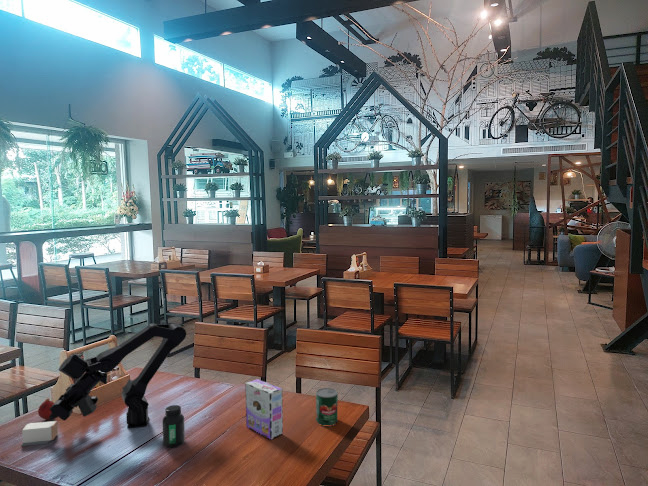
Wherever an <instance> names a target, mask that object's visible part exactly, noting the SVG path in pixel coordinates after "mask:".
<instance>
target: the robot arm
mask: <svg viewBox="0 0 648 486" xmlns="http://www.w3.org/2000/svg"><path fill="white" fill-rule="evenodd" d="M154 337H156V338H157V337H159V338H162V339H161V343H160V345H159V346H158V348H157V349H156V350H155V351H154V353H153V354H152V356H151V357H150V359H149V360H148V362H147V363H146V364H145V366H144V367H143V369H142V370H141V371H140V373H139V375H137V377H136V378H134V379H133V380H132V379H130V378H129V379H128V380H127V382H126V384H125V385H124V386H123V387H122V388H121V389H122V391H121V398H122V401H123V402H124V404H125V406H126V407H127V411H126V415H125V416H126V424H127V426H126V427H127V429H131V428H141V427H142V428H143V427H146V426H148V423H149V421H150V416H149V401H147V399H146V397H145V394H146V391H147V387H148V385H149V383H151V380H152V379H153V378H154V376H155V374H156V373H157V372H158V370H159V369H160V368H161V366H162V364H163V363H164V362H165V361H166V359H167V357H168V356H169V355H170V353H171V352H172V351H173V350H174V349H175V348H177V347H178V346H179V345H180V344H182V343H183V341H184V340H185V339H186V338H187V330H186V329H185V328H184V327H183V326H182V325H181V324H179V323H177V322H176V323H175V322H174V323H171V324H165V323H164V324H163V323H149V324H148V325H147V326H146V327H144V328H143V329H142V330H140V331H138V332H136V334H134V335H132V336H130V337H129V338H128V339H127V340H125V341H124V342H122V343H120V344H119V345H117V346H114V347H111V348H108V349H106V350H104V351H102V352H100V353H98V355H96V356H94V357H90V358H88V359H83V358H82V357H80V356H79V355H78V354H77V353H75V352H74V353H72V355H70V356H69V357H68V358H66V359H64V360H63V362H62V363H61V364H60V366H59V368H58V372H61V373H63V374H64V375H66V376H68V377H69V378H71V379H72V380H75V379H76V381H75V382H74V383H71V384H70V385H68V387H67V388H66V389H65V392H64V393H63V394H61V395H60V397H59V398H58V399H57V400H56V401H55V402H54V404H53V405H52V407H51V408H50V411H51V415H50V417H49V420H50V421H55V419H57V418H59V419H61V420H62V421H67V419H69V417H70V416H71V415H72V414H73V413H74V412H73V411H74V409H76V408H78V409H79V410H80V412H81V415H82V416H83V417H84V418H85V417H87V416H89V415H91V414H93V413H94V412H95V411H96V409H97V403H98V401H99V398H98V396H92V395H90V393H91V392H92V390H93V389H94V388H95V387H96V386H97V385H98V384H99V383H100V382H101V383H103V384H104V385H107V383H108V373H110V372H112V371H113V370H114V369H116V367H118V366H119V364H120V363H121V362H122V361H123V359H124V358H126V357H127V356H128V355H130V354H131V353H132V352H134V351H136V350H137V349H138V348H140V347H141V346H143V345H144V344H145V343H147V342H148V341H150V340H152V339H153V338H154ZM49 420H48V421H49Z"/></svg>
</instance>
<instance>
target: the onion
mask: <svg viewBox="0 0 648 486" xmlns="http://www.w3.org/2000/svg"><path fill="white" fill-rule="evenodd" d="M54 403H55V402H54V401H52V400H50V398H49V397H48V398H46V399H45V400H44V401H43V402H42V403H41V404H40V405H39V407H38V409H37V410H38V412H37V413H38V416H39V417H40V419H43V420H47V421H49V417H50V415H51V411H50V408H51V407H52V405H53V404H54Z"/></svg>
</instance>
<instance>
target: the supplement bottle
mask: <svg viewBox="0 0 648 486" xmlns="http://www.w3.org/2000/svg"><path fill="white" fill-rule="evenodd" d="M181 408H182V407H181V406H180V405H178V404H173V405H168V406H167V407H166V408H165V411H164V412H165V413H164V414H165V416H164V417H162V444H163V446H164V447H165V448H168V449H169V448H170V449H173V448H174V447H175V448H177V447H180V446H182V445H183V444H184V443H185V439H186V435H185V429H186V428H185V416H184V415H183V413H182V409H181Z"/></svg>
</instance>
